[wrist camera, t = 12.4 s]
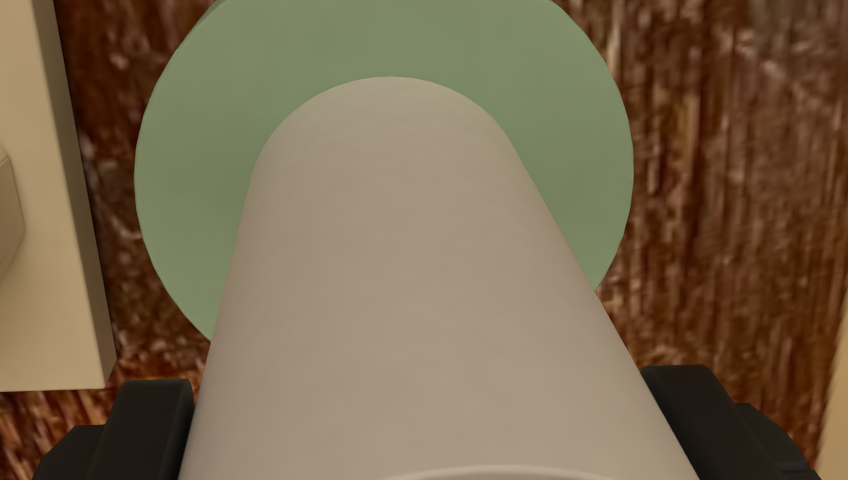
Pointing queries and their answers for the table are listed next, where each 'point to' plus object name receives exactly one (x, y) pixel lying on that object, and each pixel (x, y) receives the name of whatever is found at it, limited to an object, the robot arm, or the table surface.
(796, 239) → the table surface
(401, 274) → the beige tall cylinder
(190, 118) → the green round disc
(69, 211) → the push button box
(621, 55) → the table surface
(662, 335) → the table surface
